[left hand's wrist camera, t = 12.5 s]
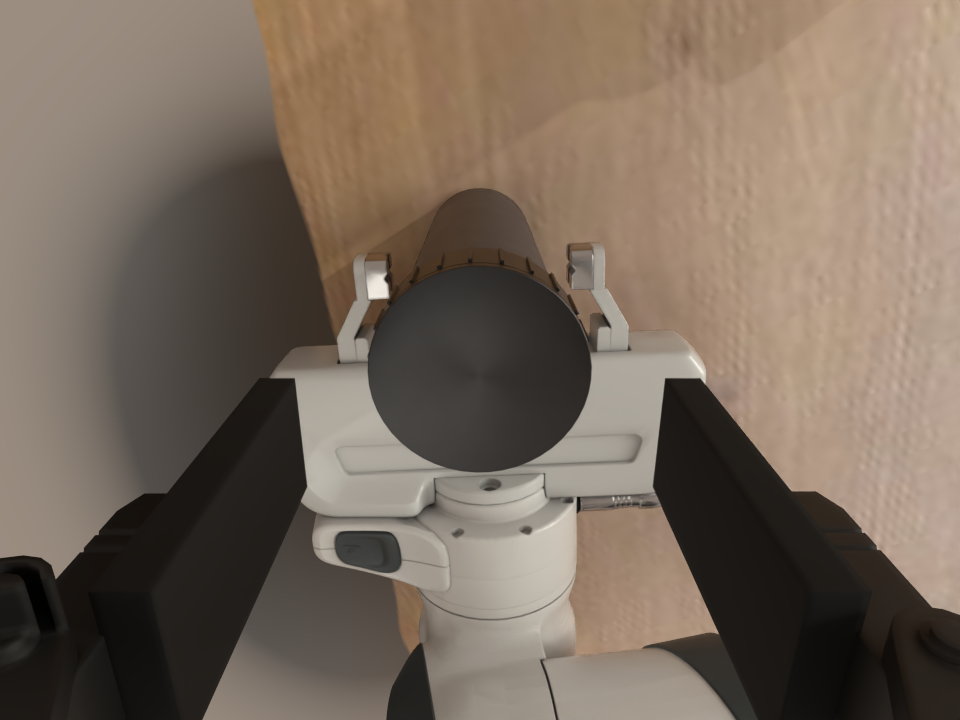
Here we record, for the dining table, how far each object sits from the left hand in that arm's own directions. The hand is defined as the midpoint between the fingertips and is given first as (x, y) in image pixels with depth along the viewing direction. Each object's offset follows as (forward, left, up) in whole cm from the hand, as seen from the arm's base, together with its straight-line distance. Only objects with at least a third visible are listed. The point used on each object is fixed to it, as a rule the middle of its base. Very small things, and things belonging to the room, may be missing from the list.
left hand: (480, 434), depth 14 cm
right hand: (-1, 0, -16) cm, 16 cm away
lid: (0, 0, -4) cm, 4 cm away
